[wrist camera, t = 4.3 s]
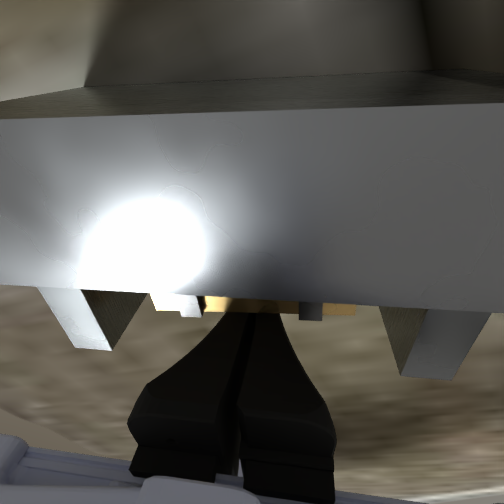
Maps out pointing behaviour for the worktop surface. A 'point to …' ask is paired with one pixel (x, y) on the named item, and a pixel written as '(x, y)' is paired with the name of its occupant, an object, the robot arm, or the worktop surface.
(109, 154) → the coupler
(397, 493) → the worktop surface
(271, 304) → the block
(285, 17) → the worktop surface
